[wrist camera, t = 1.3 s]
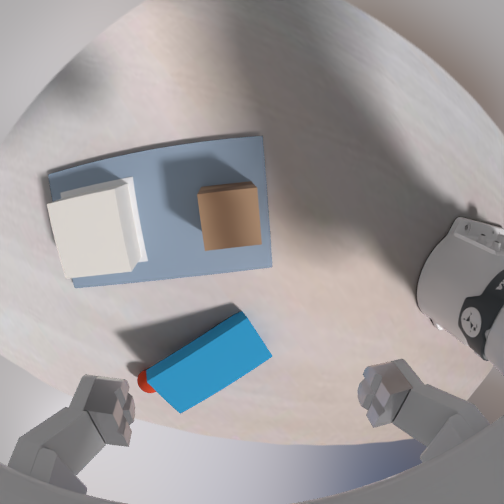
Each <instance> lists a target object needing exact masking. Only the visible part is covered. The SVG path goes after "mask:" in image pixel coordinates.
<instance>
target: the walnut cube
mask: <svg viewBox="0 0 504 504" xmlns="http://www.w3.org/2000/svg"><path fill="white" fill-rule="evenodd" d="M197 197H198V205H199V213H200V220H201V228H202V235H203V242H204V248H205V251H209V250H218V249H226V248H235V247H244V246H252V245H261V244H262V240H261V227H260V215H259V203H258V191H257V187H256V186H255V185H254V184H253V183H252V181H249V182H239V183H229V184H221V185H212V186H204V187H201V188H200V190H199V192H198V194H197Z"/></svg>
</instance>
